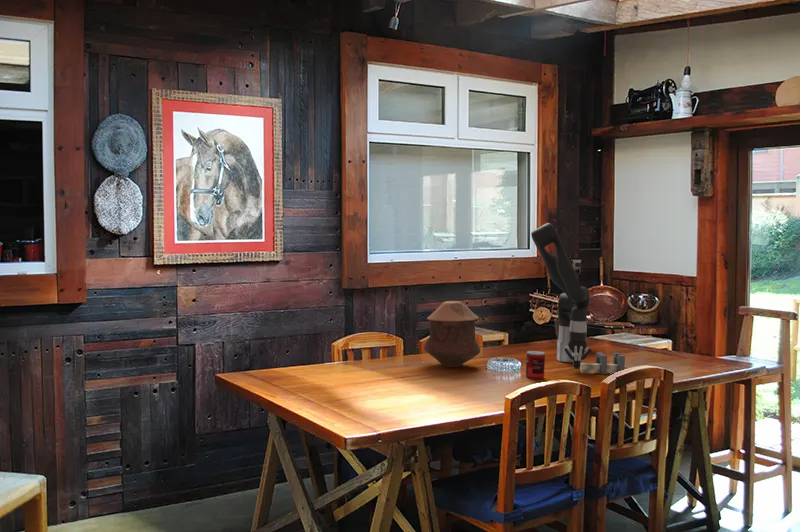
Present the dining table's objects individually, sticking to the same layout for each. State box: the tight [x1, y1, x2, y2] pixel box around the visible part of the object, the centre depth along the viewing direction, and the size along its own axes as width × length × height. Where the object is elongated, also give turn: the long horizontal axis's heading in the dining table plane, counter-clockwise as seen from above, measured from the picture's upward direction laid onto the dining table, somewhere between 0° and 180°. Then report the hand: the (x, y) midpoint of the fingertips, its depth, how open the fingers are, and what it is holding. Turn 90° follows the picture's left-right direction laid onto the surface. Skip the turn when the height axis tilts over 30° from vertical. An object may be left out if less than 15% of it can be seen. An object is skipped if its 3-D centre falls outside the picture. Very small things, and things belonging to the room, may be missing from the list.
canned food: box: [525, 350, 546, 380], centre depth 335 cm, size 8×8×11 cm
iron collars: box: [595, 351, 626, 375], centre depth 351 cm, size 10×9×8 cm
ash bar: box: [579, 362, 628, 375], centre depth 350 cm, size 20×4×4 cm, turn 89°
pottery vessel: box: [423, 300, 481, 368], centre depth 356 cm, size 26×26×30 cm
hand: (576, 368), depth 350 cm, fingers closed
